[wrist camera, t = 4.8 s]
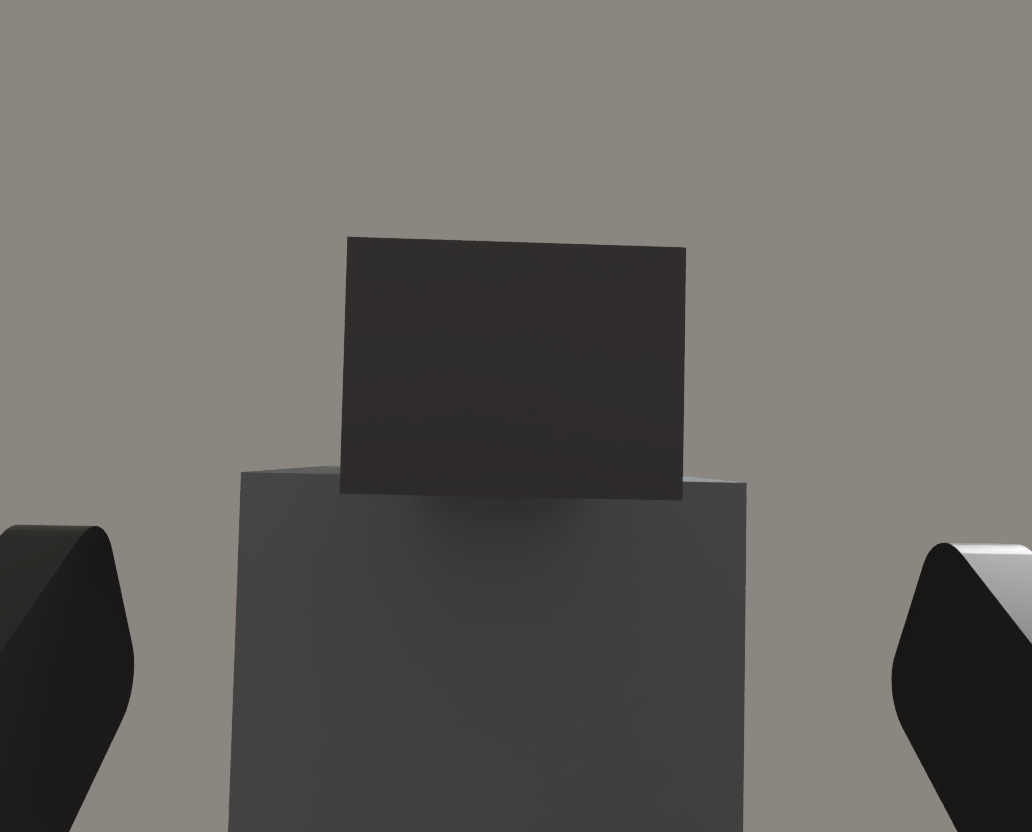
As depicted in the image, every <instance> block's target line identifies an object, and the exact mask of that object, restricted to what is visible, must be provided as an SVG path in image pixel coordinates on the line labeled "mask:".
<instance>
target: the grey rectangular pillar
mask: <svg viewBox="0 0 1032 832" xmlns="http://www.w3.org/2000/svg"><path fill="white" fill-rule="evenodd" d="M746 486H747V483H743V482H734V481H724V480H715V479H705V478H695V477H685V476H683V501H680V500H630V499H580V498H530V497H481V496H431V495H381V494H340V466H321V467H307V468H293V469H279V470H265V471H252V472H241V490H240V518H239V545H238V547H239V548H238V575H237V601H236V602H237V603H236V604H237V605H236V630H235V659H234V685H233V687H234V688H233V715H232V716H233V717H232V741H231V770H230V797H229V798H230V799H229V825H228V826H229V827H228V832H743V780H744V777H743V776H744V773H743V772H744V682H745V681H744V680H745V678H744V676H745V585H746Z"/></svg>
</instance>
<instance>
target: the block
mask: <svg viewBox="0 0 1032 832" xmlns="http://www.w3.org/2000/svg"><path fill="white" fill-rule="evenodd" d="M685 280H686V248H683V247H681V248H680V247H652V246H619V245H588V244H557V243H526V242H494V241H493V242H492V241H461V240H430V239H399V238H368V237H348V239H347V271H346V304H345V334H344V368H343V401H342V402H343V403H342V432H341V433H342V434H341V465H340V494H381V495H431V496H481V497H530V498H580V499H630V500H680V501H683V431H684V354H685V283H686V281H685Z"/></svg>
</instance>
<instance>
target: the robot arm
mask: <svg viewBox="0 0 1032 832" xmlns="http://www.w3.org/2000/svg"><path fill="white" fill-rule="evenodd" d="M133 675H134V653H133V646H132V641H131V637H130V632H129V627H128V623H127V618H126V613H125V608H124V604H123V599H122V594H121V589H120V585H119V580H118V575H117V570H116V565H115V561H114V556H113V551H112V547H111V543H110V540H109V538H108V536H107V534H106V532H105V531H104V530H103V529H102V528H100V527H98V526H51V525H14V526H12V527H10V528H8V529H7V530H5V531H4V532H3V533H2V535H1V536H0V832H69V831H70V829H71V826H72V824H73V822H74V820H75V818H76V816H77V814H78V812H79V809H80V808H81V805H82V803H83V801H84V799H85V797H86V795H87V793H88V791H89V789H90V786H91V784H92V782H93V780H94V778H95V776H96V774H97V772H98V770H99V768H100V765H101V763H102V761H103V759H104V757H105V755H106V753H107V751H108V749H109V747H110V744H111V742H112V740H113V738H114V736H115V734H116V732H117V730H118V728H119V726H120V723H121V721H122V719H123V717H124V714H125V712H126V709H127V706H128V703H129V699H130V695H131V690H132V684H133ZM892 694H893V700H894V705H895V709H896V712H897V716H898V719H899V721H900V723H901V726H902V728H903V730H904V731H905V733H906V735H907V737H908V739H909V741H910V743H911V745H912V747H913V749H914V750H915V752H916V754H917V756H918V758H919V760H920V762H921V764H922V766H923V767H924V769H925V771H926V773H927V775H928V777H929V779H930V781H931V782H932V784H933V786H934V788H935V790H936V792H937V794H938V796H939V798H940V800H941V801H942V803H943V805H944V807H945V809H946V811H947V813H948V815H949V817H950V818H951V820H952V822H953V824H954V826H955V828H956V830H957V831H958V832H1032V552H1031V551H1030V550H1029V549H1027V548H1026V547H1024V546H1022V545H1019V544H980V543H978V544H977V543H940V544H937V545H936V546H934V547H933V548H932V549H931V550H930V552H929V553H928V555H927V557H926V559H925V562H924V565H923V567H922V571H921V574H920V577H919V580H918V583H917V587H916V590H915V593H914V596H913V599H912V603H911V606H910V609H909V612H908V615H907V619H906V622H905V625H904V628H903V631H902V635H901V638H900V641H899V644H898V647H897V651H896V654H895V657H894V661H893V667H892Z"/></svg>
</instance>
